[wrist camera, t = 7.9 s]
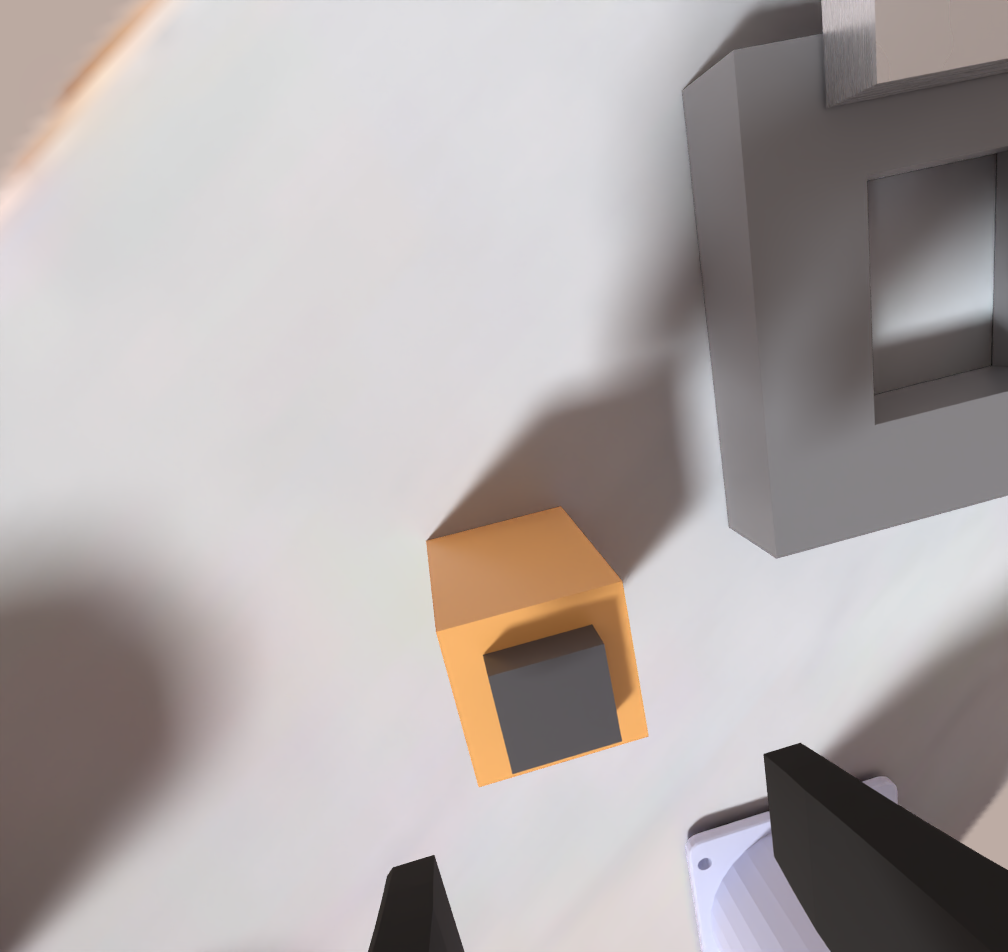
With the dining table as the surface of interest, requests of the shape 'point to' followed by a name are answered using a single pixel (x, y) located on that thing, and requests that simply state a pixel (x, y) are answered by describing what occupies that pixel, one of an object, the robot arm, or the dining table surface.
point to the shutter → (909, 45)
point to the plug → (534, 644)
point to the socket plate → (831, 300)
